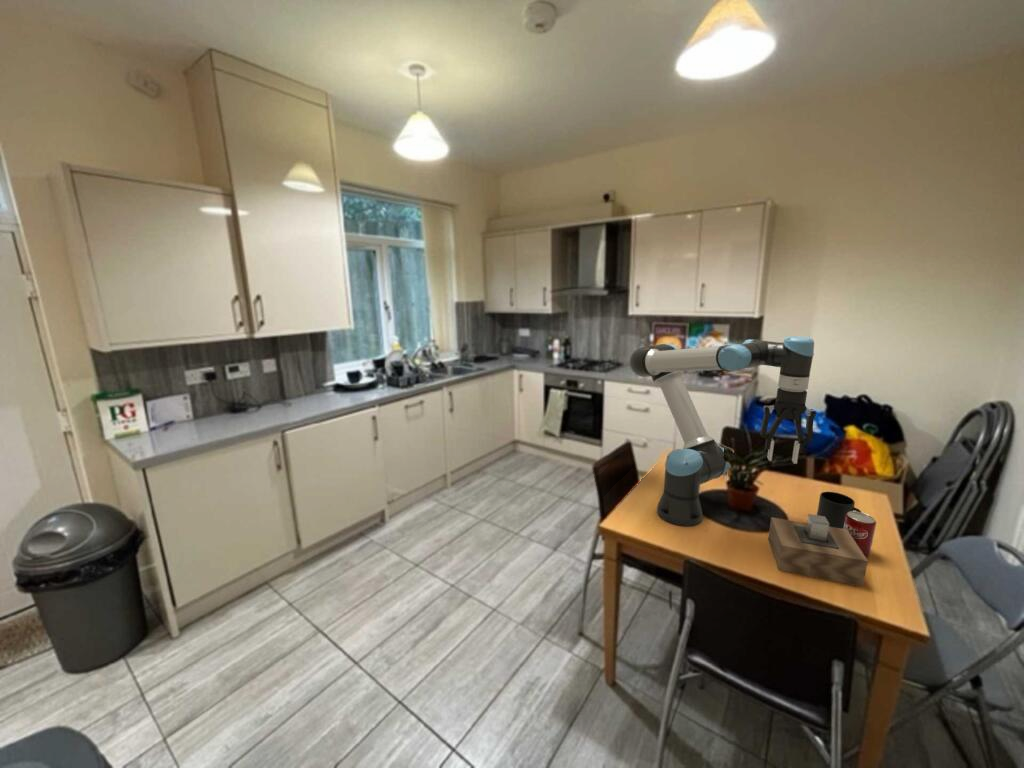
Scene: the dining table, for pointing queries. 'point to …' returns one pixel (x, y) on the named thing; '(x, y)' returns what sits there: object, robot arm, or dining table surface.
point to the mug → (835, 508)
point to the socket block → (817, 553)
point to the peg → (817, 528)
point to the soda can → (861, 529)
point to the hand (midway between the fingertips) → (781, 460)
